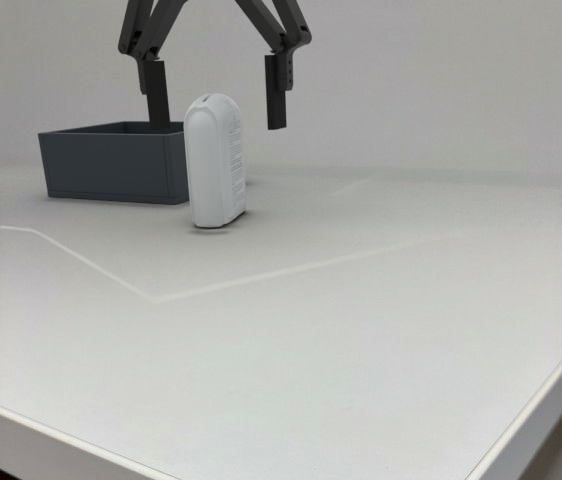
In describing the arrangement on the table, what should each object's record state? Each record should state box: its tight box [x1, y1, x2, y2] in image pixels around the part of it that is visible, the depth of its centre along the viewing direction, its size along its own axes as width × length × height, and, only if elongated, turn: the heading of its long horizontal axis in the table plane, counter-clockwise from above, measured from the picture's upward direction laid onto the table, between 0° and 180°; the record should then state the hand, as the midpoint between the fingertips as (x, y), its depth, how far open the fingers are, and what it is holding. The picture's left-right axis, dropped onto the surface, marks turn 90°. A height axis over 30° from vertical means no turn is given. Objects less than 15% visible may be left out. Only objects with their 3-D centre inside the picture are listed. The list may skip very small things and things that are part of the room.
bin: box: [37, 120, 190, 206], centre depth 91 cm, size 20×18×8 cm
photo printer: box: [183, 92, 248, 228], centre depth 71 cm, size 10×4×12 cm, turn 169°
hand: (216, 129), depth 69 cm, fingers open, 13 cm apart
